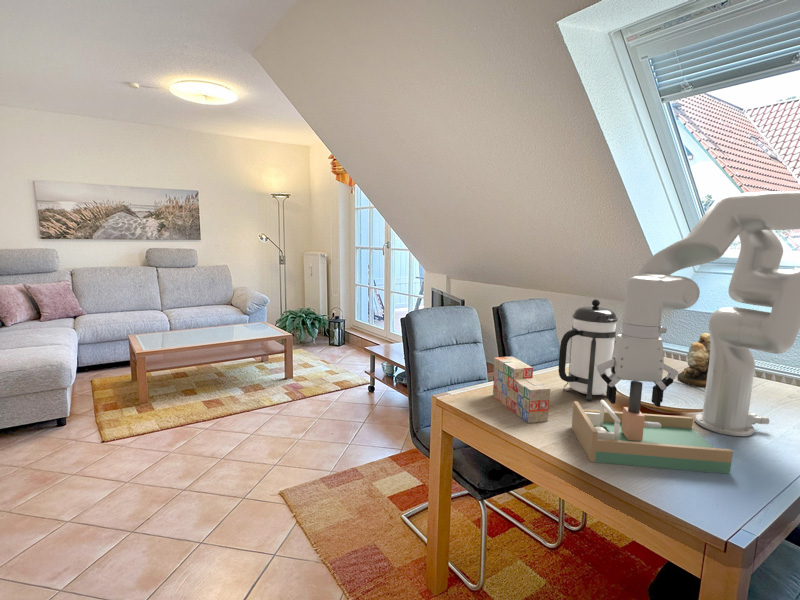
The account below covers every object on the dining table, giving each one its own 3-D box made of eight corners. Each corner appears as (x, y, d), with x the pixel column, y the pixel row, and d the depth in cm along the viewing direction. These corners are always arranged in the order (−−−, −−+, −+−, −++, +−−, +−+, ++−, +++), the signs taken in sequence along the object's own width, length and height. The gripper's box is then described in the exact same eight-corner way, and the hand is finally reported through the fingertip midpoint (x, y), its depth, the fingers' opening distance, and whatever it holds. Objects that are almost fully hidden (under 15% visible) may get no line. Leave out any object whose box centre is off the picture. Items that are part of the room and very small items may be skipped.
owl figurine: (685, 371, 166) (691, 326, 163) (723, 379, 158) (730, 332, 155) (672, 381, 153) (678, 333, 151) (713, 390, 145) (720, 339, 143)
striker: (655, 433, 106) (661, 380, 104) (664, 442, 101) (670, 388, 99) (621, 430, 107) (626, 378, 105) (628, 440, 102) (633, 385, 100)
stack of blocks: (548, 421, 119) (551, 377, 117) (527, 423, 117) (530, 378, 115) (510, 393, 139) (512, 355, 137) (492, 395, 138) (494, 356, 136)
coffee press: (562, 382, 151) (568, 294, 146) (614, 390, 144) (623, 298, 139) (556, 398, 135) (563, 301, 131) (614, 408, 128) (623, 305, 124)
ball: (584, 430, 108) (595, 442, 108) (588, 438, 104) (600, 450, 104) (597, 420, 107) (609, 432, 107) (602, 427, 103) (614, 439, 103)
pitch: (688, 435, 111) (692, 401, 110) (730, 473, 94) (735, 433, 92) (571, 426, 115) (574, 393, 114) (590, 461, 98) (593, 422, 96)
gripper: (674, 329, 103) (666, 400, 106) (595, 326, 106) (589, 394, 108) (689, 336, 96) (681, 412, 98) (605, 332, 98) (598, 406, 101)
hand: (633, 403), depth 103 cm, fingers open, 9 cm apart
